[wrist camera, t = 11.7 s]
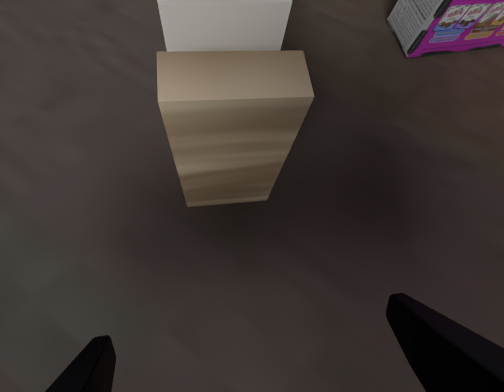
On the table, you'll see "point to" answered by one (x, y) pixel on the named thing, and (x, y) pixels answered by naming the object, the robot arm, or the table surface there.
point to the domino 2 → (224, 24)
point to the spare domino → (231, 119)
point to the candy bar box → (446, 25)
